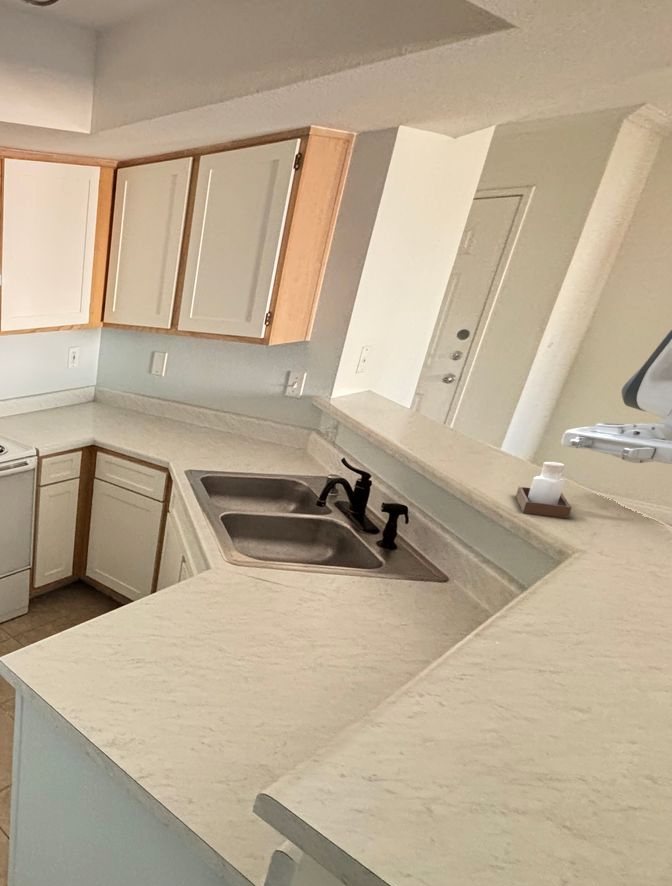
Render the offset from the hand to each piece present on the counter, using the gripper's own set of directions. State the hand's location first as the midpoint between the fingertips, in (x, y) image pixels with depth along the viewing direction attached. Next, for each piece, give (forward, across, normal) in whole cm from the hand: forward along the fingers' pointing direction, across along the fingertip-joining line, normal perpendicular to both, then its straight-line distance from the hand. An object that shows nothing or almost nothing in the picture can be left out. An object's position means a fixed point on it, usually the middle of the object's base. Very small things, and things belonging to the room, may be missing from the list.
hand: (598, 448), depth 129 cm
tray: (+12, 0, -12) cm, 17 cm away
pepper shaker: (+12, 0, -12) cm, 17 cm away
